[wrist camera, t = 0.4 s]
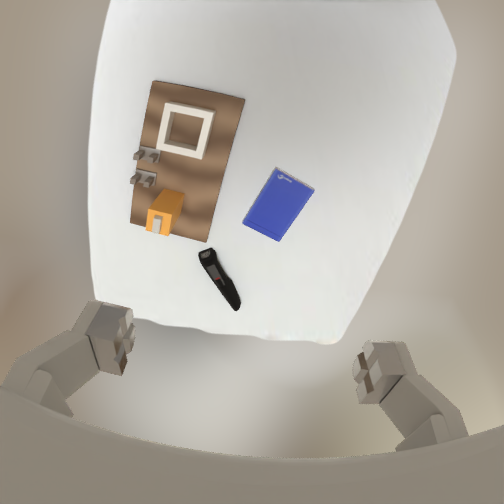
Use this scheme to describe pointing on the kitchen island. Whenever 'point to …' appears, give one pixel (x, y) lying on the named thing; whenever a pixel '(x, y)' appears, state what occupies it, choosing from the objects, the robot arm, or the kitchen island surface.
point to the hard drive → (278, 204)
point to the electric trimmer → (219, 277)
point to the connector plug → (164, 212)
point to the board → (184, 157)
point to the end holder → (183, 148)
